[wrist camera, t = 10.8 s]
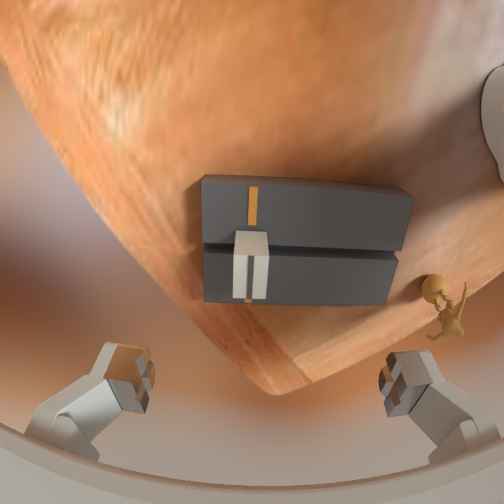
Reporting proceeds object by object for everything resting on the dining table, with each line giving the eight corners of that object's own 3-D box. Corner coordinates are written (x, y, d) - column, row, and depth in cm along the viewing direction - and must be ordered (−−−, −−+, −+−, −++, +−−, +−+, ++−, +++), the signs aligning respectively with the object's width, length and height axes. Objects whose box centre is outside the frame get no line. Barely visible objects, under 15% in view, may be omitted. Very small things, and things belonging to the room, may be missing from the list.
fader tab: (265, 225, 32) (269, 256, 26) (263, 263, 34) (265, 299, 28) (236, 224, 32) (233, 255, 26) (235, 262, 34) (232, 298, 28)
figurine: (421, 307, 40) (457, 365, 29) (393, 297, 39) (427, 359, 28) (452, 260, 36) (499, 312, 26) (425, 246, 35) (473, 301, 25)
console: (402, 189, 32) (414, 198, 29) (377, 291, 38) (385, 306, 36) (205, 174, 31) (200, 182, 29) (207, 287, 38) (204, 302, 35)
